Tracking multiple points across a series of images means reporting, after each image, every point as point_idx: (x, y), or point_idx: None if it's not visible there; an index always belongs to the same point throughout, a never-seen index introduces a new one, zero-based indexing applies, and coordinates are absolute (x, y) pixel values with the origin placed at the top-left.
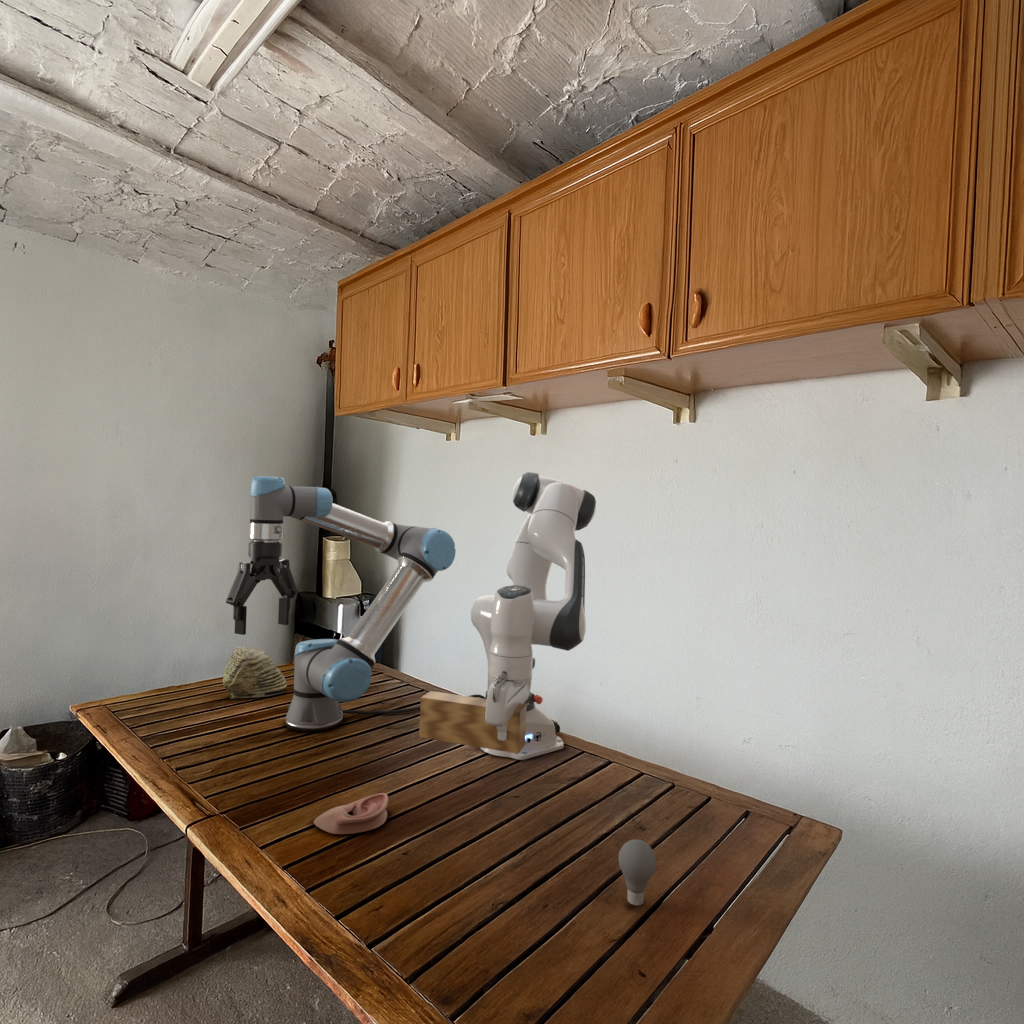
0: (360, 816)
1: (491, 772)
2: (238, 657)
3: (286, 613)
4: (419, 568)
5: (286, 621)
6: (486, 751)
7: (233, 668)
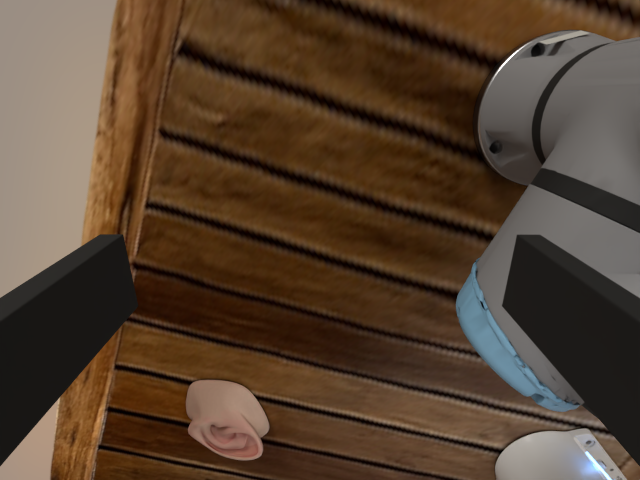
0: (211, 442)
1: (438, 476)
2: None
3: (551, 358)
4: None
5: (515, 320)
6: (502, 454)
7: None
